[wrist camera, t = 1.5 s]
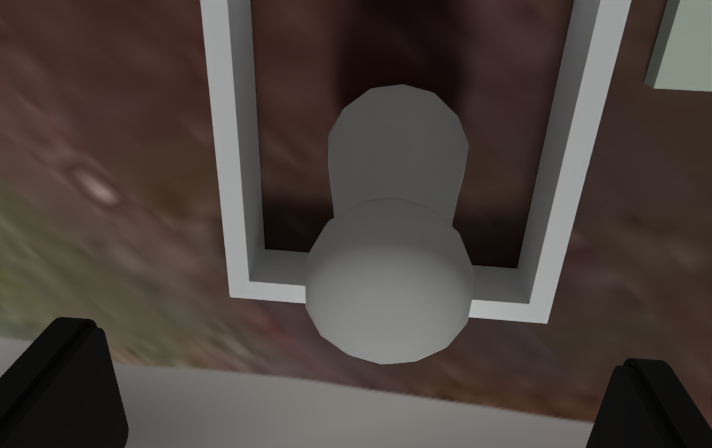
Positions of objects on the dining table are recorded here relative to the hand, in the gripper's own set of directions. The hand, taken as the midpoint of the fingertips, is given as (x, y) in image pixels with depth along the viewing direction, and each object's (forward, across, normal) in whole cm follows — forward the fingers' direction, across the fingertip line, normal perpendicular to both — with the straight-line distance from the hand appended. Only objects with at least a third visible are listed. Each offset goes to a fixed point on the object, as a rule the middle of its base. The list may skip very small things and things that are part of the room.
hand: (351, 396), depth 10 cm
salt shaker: (+16, -1, 0) cm, 16 cm away
